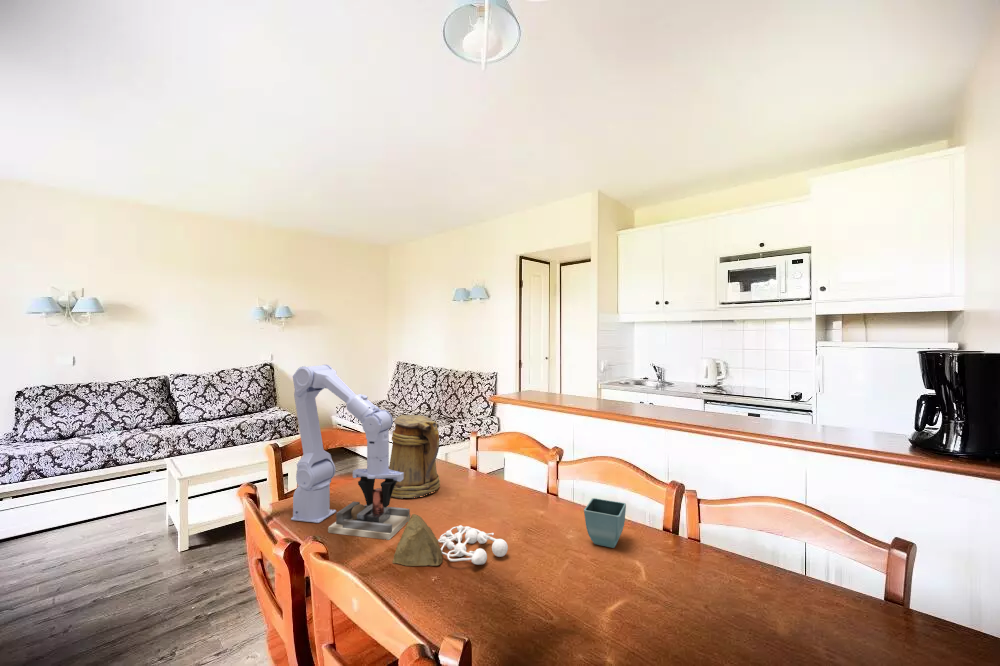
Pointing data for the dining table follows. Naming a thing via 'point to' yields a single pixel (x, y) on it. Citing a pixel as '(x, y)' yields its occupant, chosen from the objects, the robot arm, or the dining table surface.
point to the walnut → (357, 510)
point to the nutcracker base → (369, 523)
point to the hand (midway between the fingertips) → (378, 505)
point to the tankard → (415, 455)
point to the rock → (418, 545)
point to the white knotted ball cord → (471, 537)
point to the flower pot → (605, 521)
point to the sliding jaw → (375, 509)
